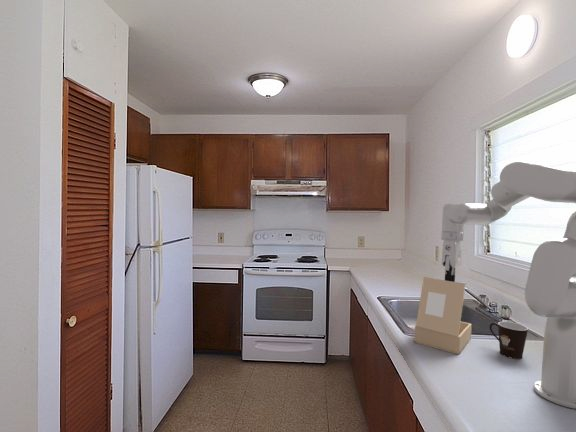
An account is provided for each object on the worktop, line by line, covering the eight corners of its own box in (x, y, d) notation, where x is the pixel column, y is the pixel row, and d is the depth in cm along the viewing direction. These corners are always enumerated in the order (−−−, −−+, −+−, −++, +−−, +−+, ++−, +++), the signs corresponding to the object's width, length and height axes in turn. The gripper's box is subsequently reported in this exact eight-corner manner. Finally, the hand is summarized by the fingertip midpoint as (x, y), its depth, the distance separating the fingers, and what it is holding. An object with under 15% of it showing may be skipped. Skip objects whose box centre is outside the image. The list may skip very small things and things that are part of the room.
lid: (465, 284, 121) (464, 283, 121) (458, 336, 117) (457, 336, 116) (424, 277, 130) (423, 277, 129) (416, 326, 126) (415, 325, 125)
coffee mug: (532, 361, 114) (534, 331, 114) (505, 359, 114) (507, 329, 114) (510, 346, 126) (512, 319, 125) (486, 345, 126) (488, 318, 126)
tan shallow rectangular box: (470, 339, 131) (471, 323, 131) (459, 354, 117) (459, 337, 117) (429, 329, 140) (430, 314, 140) (414, 342, 126) (415, 325, 126)
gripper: (458, 238, 123) (455, 289, 124) (467, 236, 135) (464, 283, 135) (435, 236, 128) (433, 286, 129) (447, 234, 139) (444, 279, 140)
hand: (449, 284), depth 132 cm, fingers closed
